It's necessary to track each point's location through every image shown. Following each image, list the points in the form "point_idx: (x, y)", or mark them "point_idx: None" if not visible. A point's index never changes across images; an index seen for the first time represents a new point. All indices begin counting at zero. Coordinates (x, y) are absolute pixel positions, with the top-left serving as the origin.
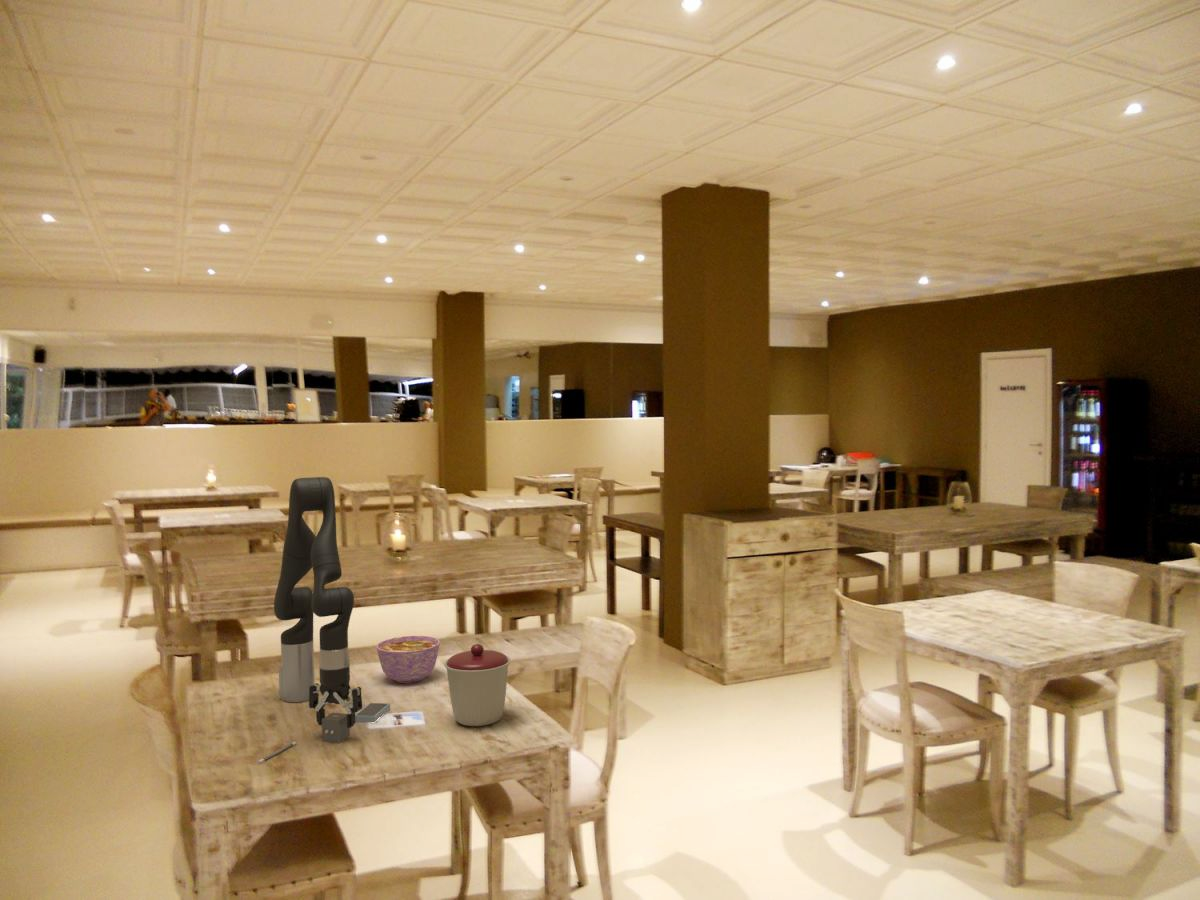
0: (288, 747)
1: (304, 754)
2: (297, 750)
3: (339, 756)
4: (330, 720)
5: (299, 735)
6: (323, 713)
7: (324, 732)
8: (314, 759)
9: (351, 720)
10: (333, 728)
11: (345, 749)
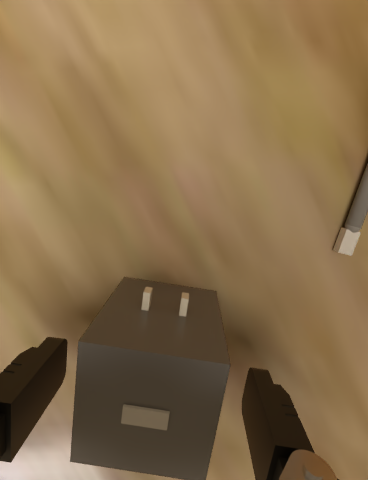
0: (357, 192)
1: (234, 120)
2: (295, 172)
3: (36, 111)
4: (152, 349)
5: (360, 355)
6: (257, 454)
7: (204, 310)
8: (148, 54)
9: (10, 370)
10: (139, 315)
11: (55, 205)
